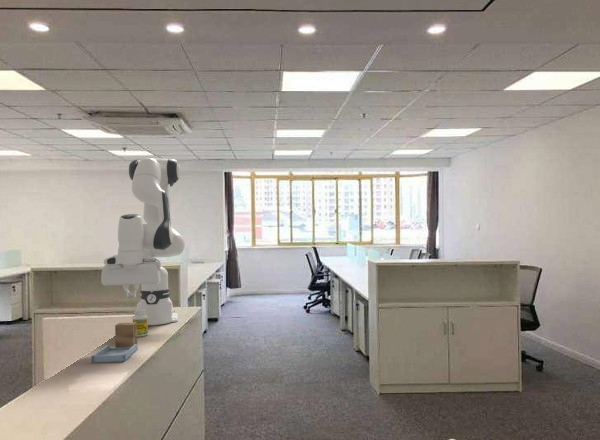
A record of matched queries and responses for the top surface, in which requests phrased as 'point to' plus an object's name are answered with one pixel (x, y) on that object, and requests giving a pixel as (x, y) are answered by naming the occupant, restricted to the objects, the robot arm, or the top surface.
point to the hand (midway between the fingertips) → (131, 297)
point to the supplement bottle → (141, 322)
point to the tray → (114, 354)
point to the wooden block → (125, 334)
